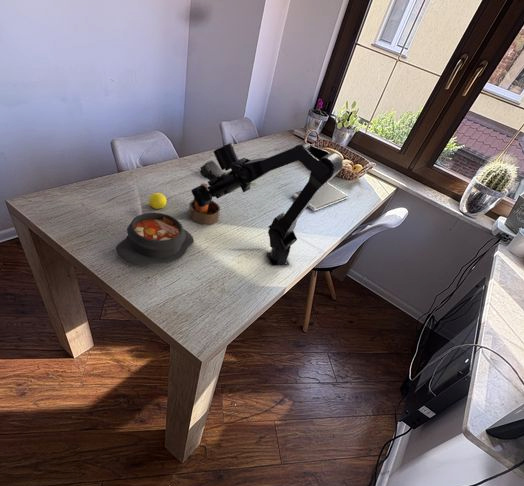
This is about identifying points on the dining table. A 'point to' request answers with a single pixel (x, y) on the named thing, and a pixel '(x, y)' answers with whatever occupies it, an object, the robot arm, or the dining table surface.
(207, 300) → the dining table surface
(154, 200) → the lemon
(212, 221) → the bowl
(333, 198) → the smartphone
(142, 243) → the casserole
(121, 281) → the dining table surface
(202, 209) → the bottle
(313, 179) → the robot arm
